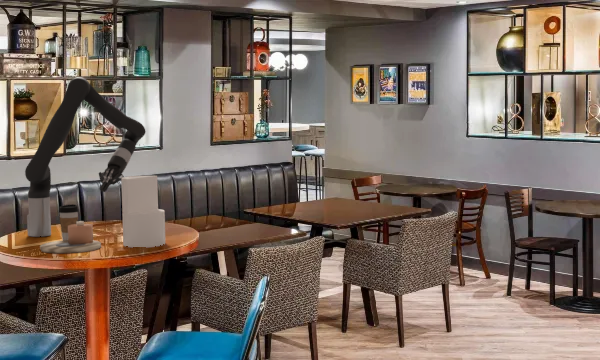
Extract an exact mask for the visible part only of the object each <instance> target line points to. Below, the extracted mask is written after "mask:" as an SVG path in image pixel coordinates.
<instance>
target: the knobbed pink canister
mask: <svg viewBox="0 0 600 360" xmlns="http://www.w3.org/2000/svg"><path fill="white" fill-rule="evenodd" d="M93 227H94V225H93V223H85V221H84V220H78V221H77V222H76V224H73V225H68V243H69V244H87V243H92V242H93V240H94V229H93Z"/></svg>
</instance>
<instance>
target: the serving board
mask: <svg viewBox="0 0 600 360" xmlns="http://www.w3.org/2000/svg"><path fill="white" fill-rule="evenodd" d="M101 247H102V242H101V241H98V240H94V239H93V242H92V243H87V244H69V243H68V240H55V241H50V242H46V243H42V244H41V245H39V250H41V251H40V252H42V253H47V254H76V253H78V254H79V253H85V252H90V251H95V250H98V249H101Z"/></svg>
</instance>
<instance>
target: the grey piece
mask: <svg viewBox="0 0 600 360" xmlns="http://www.w3.org/2000/svg"><path fill="white" fill-rule="evenodd" d="M120 181H121V205H122V208H121V211H122V214H121V215H122V241H123V243H122V244H123V247H126V246H128V247H127V248H133V247H146V248H155V246H156V247H161V246H164V245H165V244H166V217H165V216H166V214H165V213H166V211H165V210H164V209H161V208H159V192H158V190H159V188H158V175H130V176H124V177H122V178H121V180H120ZM163 244H164V245H163ZM160 245H161V246H160Z"/></svg>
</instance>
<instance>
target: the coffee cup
mask: <svg viewBox="0 0 600 360" xmlns="http://www.w3.org/2000/svg"><path fill="white" fill-rule="evenodd" d="M58 213H59V224H60V231H61V239H62V240H61V241H63V240H68V225H73V224H76V222H77V221H79V216H78V215H79V214H78V213H79V208H78V204H65V205H61V206H59V208H58Z"/></svg>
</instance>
